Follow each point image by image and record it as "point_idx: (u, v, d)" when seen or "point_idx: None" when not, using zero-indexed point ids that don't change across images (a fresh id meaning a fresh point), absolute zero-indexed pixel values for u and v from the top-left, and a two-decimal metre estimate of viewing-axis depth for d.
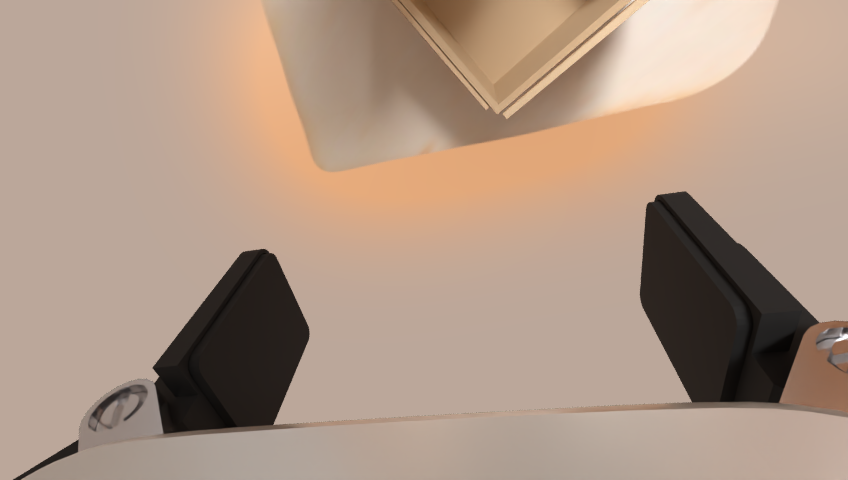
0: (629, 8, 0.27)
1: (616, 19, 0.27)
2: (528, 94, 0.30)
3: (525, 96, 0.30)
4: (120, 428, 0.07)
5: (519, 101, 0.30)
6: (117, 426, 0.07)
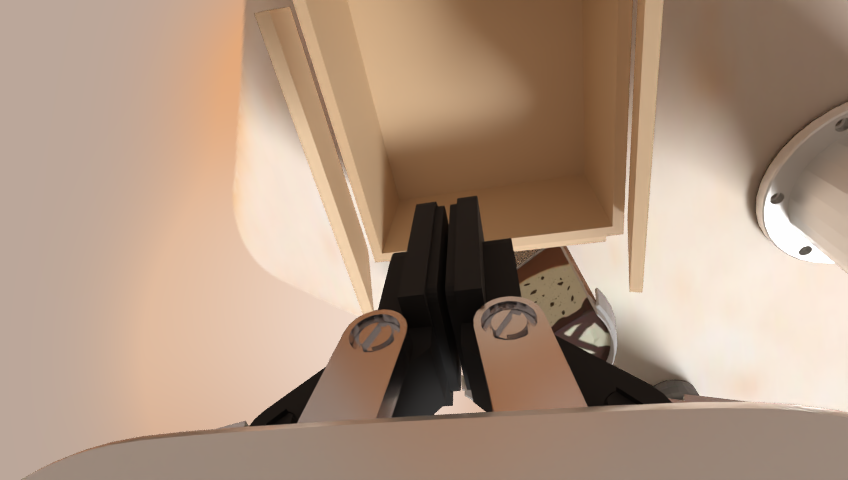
0: (350, 253, 0.19)
1: (344, 236, 0.19)
2: (288, 77, 0.15)
3: (286, 70, 0.15)
4: (364, 356, 0.07)
5: (281, 55, 0.15)
6: (364, 351, 0.07)
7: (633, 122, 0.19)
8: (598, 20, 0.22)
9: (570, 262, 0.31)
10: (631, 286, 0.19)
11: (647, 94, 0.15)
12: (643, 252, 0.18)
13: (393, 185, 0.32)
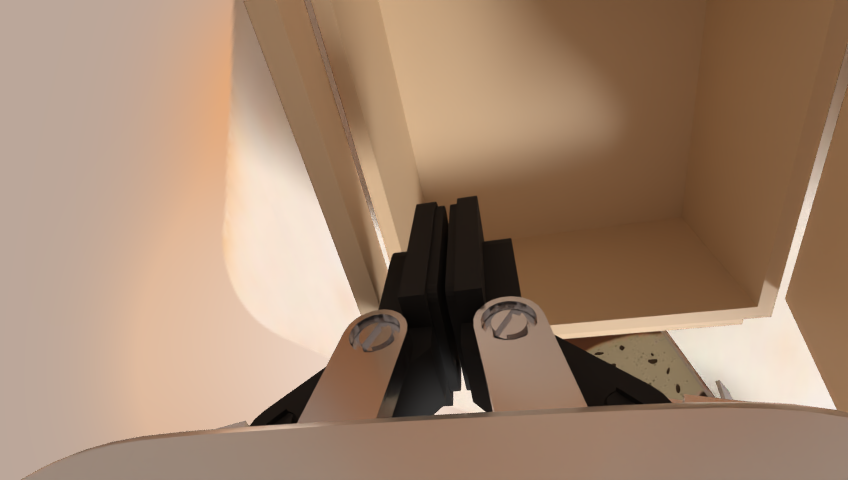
0: None
1: None
2: (310, 124, 0.08)
3: (307, 112, 0.08)
4: (364, 356, 0.07)
5: (298, 83, 0.08)
6: (364, 351, 0.07)
7: None
8: (757, 15, 0.15)
9: (663, 332, 0.24)
10: None
11: None
12: None
13: None
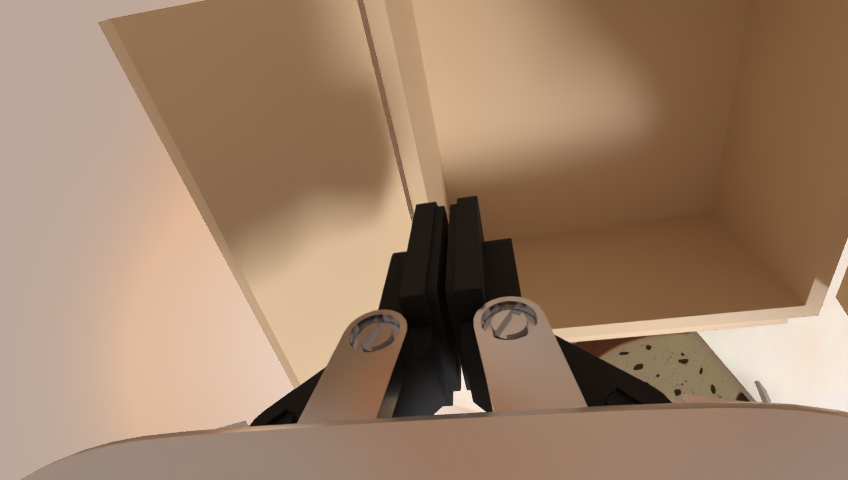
0: None
1: (291, 369, 0.12)
2: (169, 139, 0.09)
3: (163, 128, 0.08)
4: (364, 356, 0.07)
5: (150, 101, 0.08)
6: (364, 351, 0.07)
7: None
8: (816, 2, 0.14)
9: None
10: None
11: None
12: None
13: None
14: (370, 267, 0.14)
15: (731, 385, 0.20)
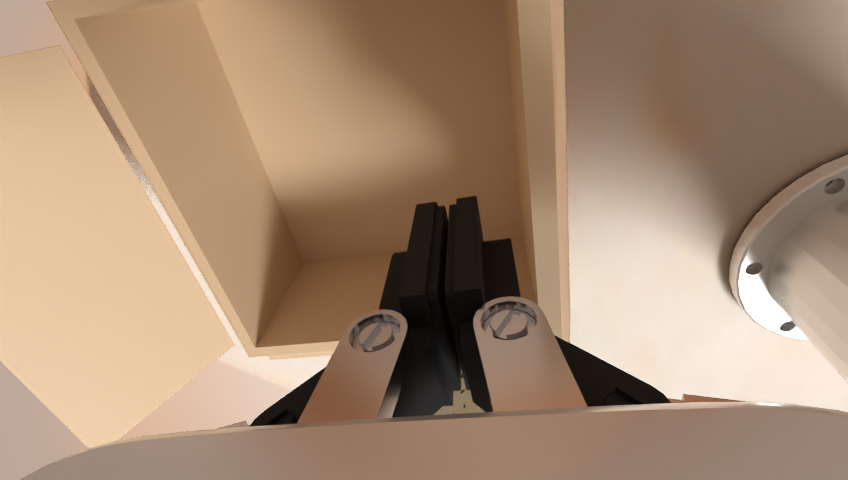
0: (33, 393, 0.15)
1: (16, 375, 0.14)
2: None
3: None
4: (364, 356, 0.07)
5: None
6: (364, 351, 0.07)
7: None
8: (513, 61, 0.17)
9: None
10: None
11: (542, 219, 0.09)
12: None
13: (291, 246, 0.26)
14: (119, 288, 0.16)
15: None
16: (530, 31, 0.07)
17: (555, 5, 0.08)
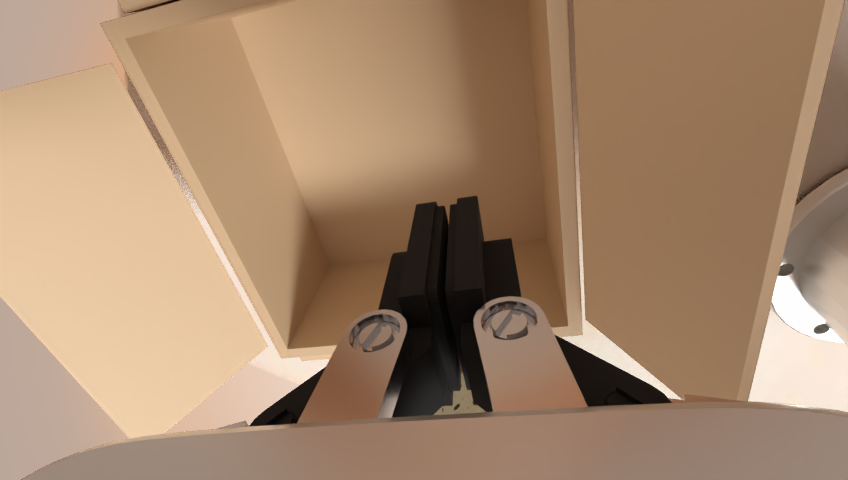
0: None
1: (71, 373, 0.15)
2: None
3: None
4: (364, 356, 0.07)
5: None
6: (364, 351, 0.07)
7: (619, 209, 0.14)
8: (539, 67, 0.17)
9: None
10: None
11: (793, 174, 0.09)
12: (750, 383, 0.12)
13: (319, 250, 0.27)
14: (163, 291, 0.17)
15: None
16: None
17: None
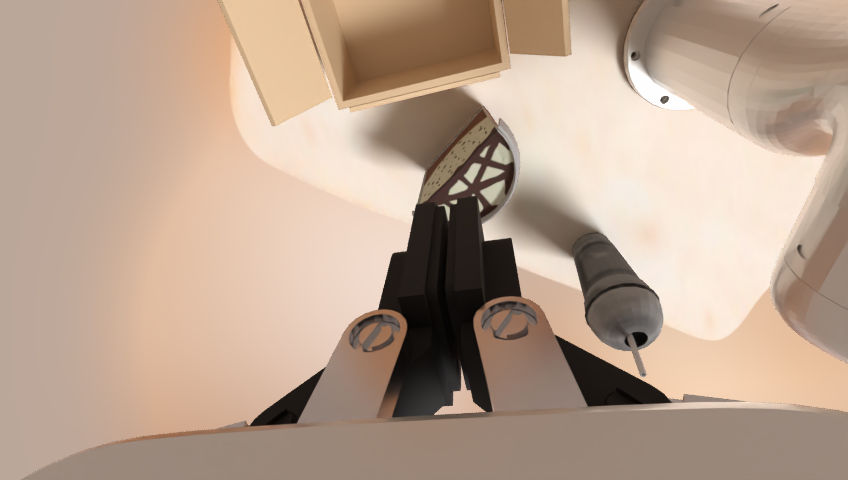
0: (253, 75, 0.31)
1: (248, 63, 0.30)
2: None
3: None
4: (364, 356, 0.07)
5: None
6: (364, 351, 0.07)
7: None
8: None
9: (487, 114, 0.41)
10: (565, 51, 0.29)
11: None
12: (568, 20, 0.28)
13: (352, 67, 0.42)
14: (284, 36, 0.32)
15: (492, 126, 0.38)
16: None
17: None
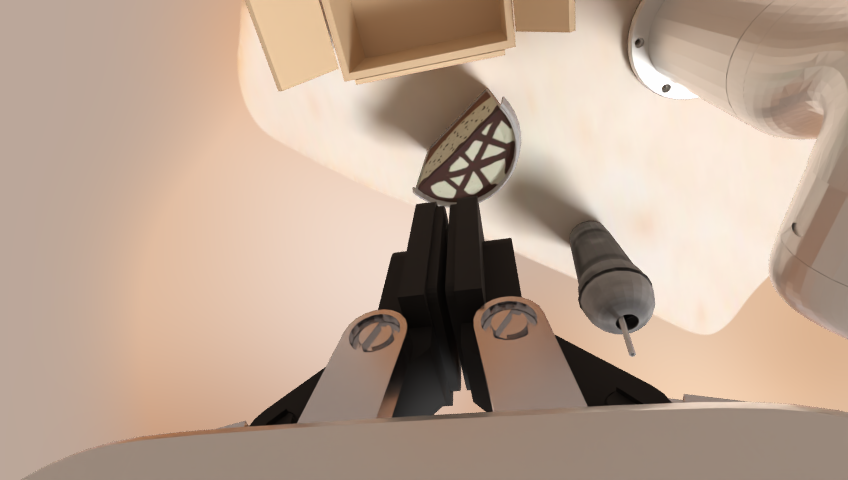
0: (262, 39, 0.31)
1: (258, 26, 0.31)
2: None
3: None
4: (364, 356, 0.07)
5: None
6: (364, 351, 0.07)
7: None
8: None
9: (491, 95, 0.42)
10: (570, 27, 0.29)
11: None
12: None
13: (360, 42, 0.43)
14: (294, 3, 0.33)
15: (495, 105, 0.39)
16: None
17: None
